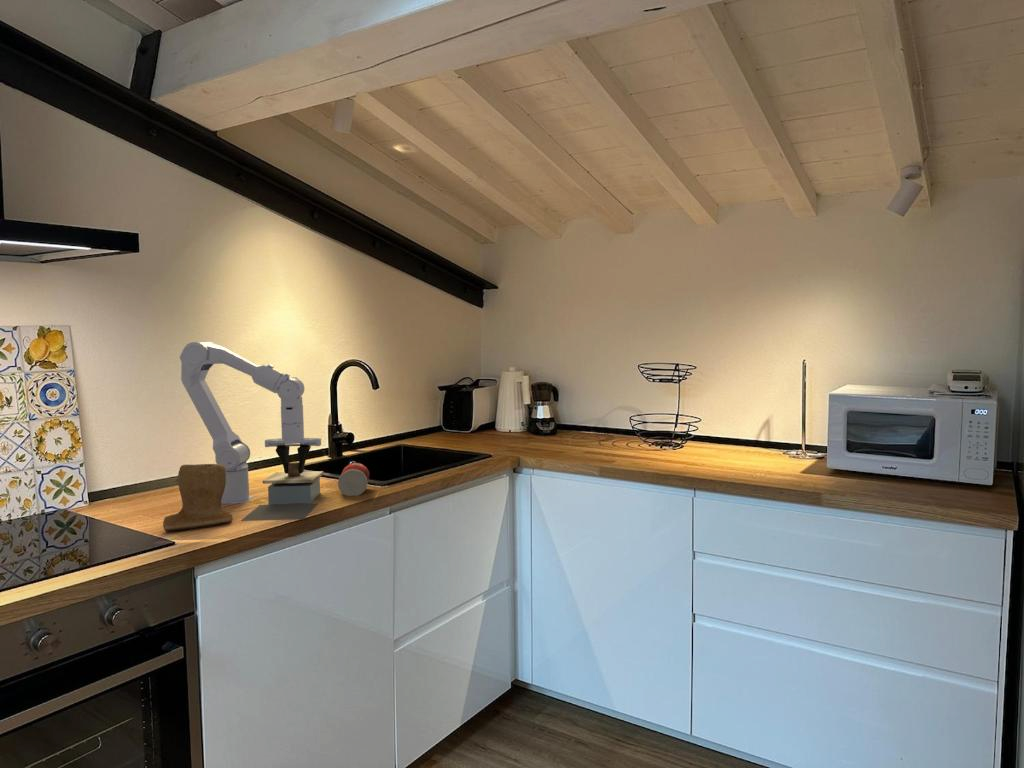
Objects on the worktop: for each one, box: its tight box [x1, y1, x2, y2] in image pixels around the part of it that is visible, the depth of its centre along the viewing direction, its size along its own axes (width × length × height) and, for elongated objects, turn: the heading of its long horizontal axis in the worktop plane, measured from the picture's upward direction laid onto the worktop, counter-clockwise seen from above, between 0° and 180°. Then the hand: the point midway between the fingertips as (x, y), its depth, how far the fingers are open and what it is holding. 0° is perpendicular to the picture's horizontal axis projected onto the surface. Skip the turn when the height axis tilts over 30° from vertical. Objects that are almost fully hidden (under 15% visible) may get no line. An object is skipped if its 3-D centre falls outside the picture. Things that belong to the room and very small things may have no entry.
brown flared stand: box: [162, 463, 233, 532], centre depth 162 cm, size 15×12×15 cm
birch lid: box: [262, 461, 325, 485], centre depth 186 cm, size 13×13×4 cm
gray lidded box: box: [267, 477, 321, 505], centre depth 186 cm, size 11×11×5 cm
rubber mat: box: [240, 502, 318, 522], centre depth 173 cm, size 15×15×1 cm
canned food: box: [337, 462, 370, 497], centre depth 194 cm, size 8×8×11 cm
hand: (294, 472), depth 186 cm, fingers closed on birch lid, 3 cm apart
